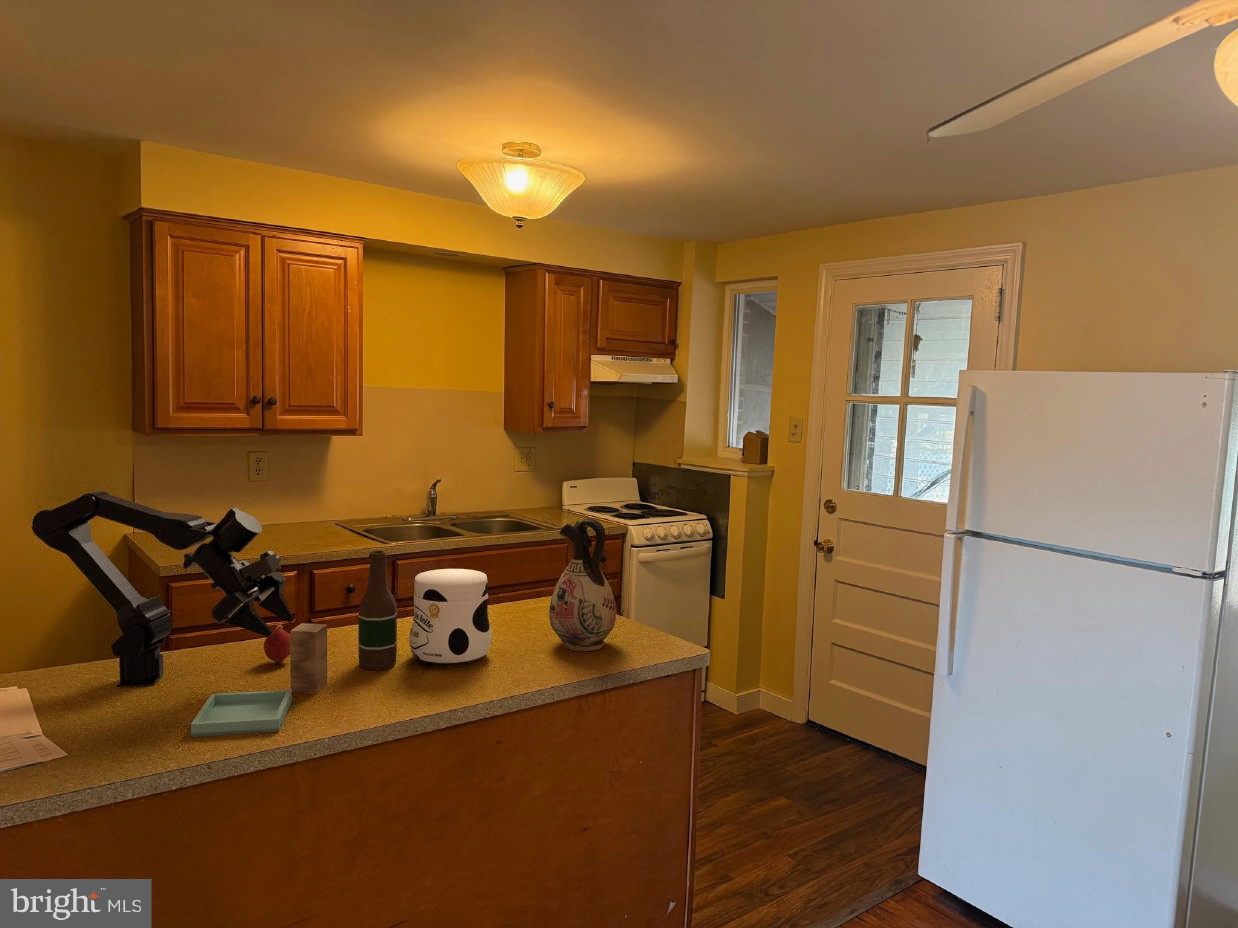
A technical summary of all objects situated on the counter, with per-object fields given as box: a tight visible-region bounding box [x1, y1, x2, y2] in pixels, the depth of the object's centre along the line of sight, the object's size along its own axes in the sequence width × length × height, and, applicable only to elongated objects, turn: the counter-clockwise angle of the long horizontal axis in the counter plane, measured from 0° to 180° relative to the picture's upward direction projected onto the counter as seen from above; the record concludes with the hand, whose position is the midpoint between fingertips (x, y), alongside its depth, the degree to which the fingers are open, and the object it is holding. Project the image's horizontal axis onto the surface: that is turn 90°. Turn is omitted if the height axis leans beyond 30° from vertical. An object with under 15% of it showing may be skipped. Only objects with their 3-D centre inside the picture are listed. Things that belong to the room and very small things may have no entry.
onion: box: [263, 624, 290, 664], centre depth 173 cm, size 6×6×8 cm
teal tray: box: [190, 689, 293, 738], centre depth 145 cm, size 14×14×2 cm
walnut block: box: [289, 623, 328, 695], centre depth 159 cm, size 5×5×12 cm
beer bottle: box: [358, 550, 398, 671], centre depth 173 cm, size 8×8×24 cm
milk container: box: [408, 568, 493, 667], centre depth 178 cm, size 17×17×18 cm
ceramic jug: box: [548, 518, 617, 652], centre depth 189 cm, size 17×16×30 cm
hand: (281, 627), depth 159 cm, fingers open, 9 cm apart
